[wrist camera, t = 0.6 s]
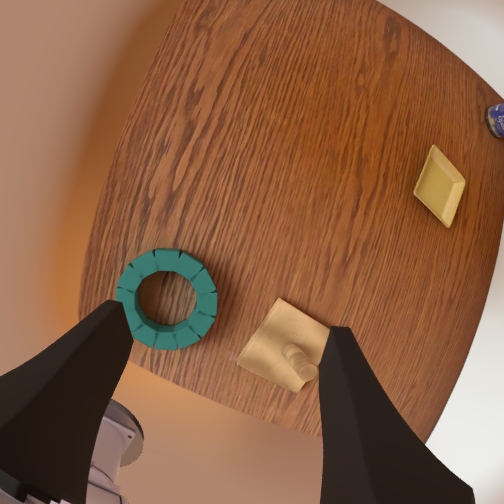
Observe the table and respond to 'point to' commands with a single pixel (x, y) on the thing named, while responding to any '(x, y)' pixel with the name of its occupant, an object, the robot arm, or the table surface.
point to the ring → (185, 330)
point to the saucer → (440, 186)
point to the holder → (285, 347)
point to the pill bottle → (496, 120)
